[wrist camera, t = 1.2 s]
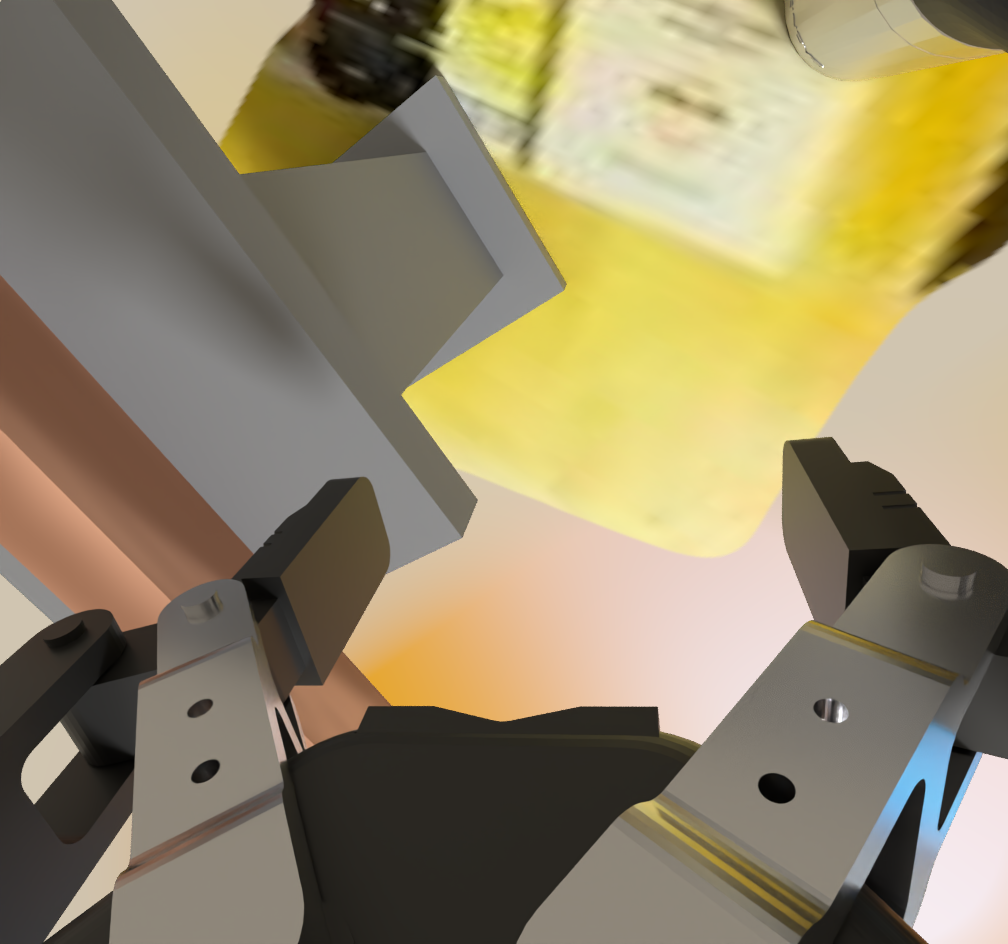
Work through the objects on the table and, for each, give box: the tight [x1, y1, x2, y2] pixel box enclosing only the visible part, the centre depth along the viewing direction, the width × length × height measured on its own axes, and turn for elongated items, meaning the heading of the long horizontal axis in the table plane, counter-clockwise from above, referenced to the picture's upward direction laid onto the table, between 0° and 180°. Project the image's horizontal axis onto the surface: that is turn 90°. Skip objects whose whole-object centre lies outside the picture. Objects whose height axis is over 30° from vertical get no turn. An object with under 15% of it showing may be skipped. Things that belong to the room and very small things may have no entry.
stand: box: [0, 0, 566, 623], centre depth 32 cm, size 15×15×32 cm
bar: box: [0, 275, 391, 748], centre depth 18 cm, size 3×22×3 cm, turn 33°
